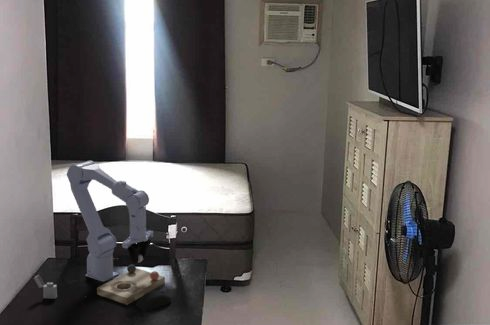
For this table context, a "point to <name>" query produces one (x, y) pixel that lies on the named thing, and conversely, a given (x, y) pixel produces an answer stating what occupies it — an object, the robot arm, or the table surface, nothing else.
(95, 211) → the robot arm
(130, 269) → the black ball
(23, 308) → the table surface
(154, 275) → the red ball
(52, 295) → the lighter
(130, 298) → the maple board
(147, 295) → the computer mouse
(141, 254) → the steel ball
